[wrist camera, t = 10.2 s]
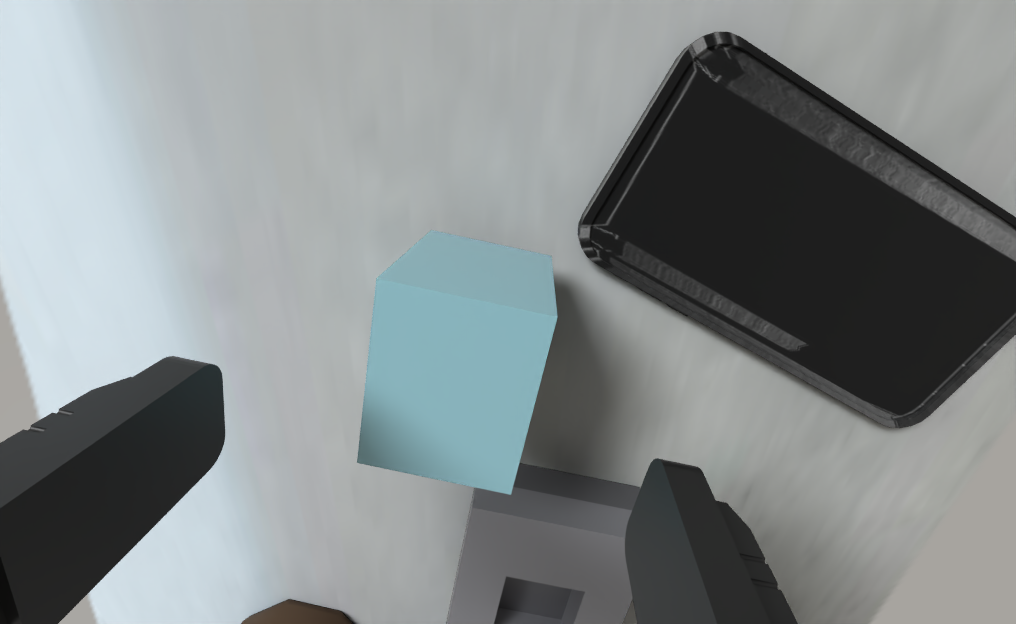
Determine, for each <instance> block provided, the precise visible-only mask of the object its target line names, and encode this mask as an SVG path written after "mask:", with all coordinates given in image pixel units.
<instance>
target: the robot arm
mask: <svg viewBox="0 0 1016 624" xmlns="http://www.w3.org/2000/svg"><path fill="white" fill-rule="evenodd" d="M224 440H225V420H224V400H223V380H222V373H221V370H220V369H219V367H218V366H216V365H213V364H208V363H204V362H199V361H194V360H189V359H184V358H180V357H175V356H170V357H166V358H164V359H162V360H160V361H159V362H157V363H155V364H154V365H152V366H150V367H149V368H147V369H145V370H144V371H142V372H140V373H139V374H137V375H136V376H134V377H129V378H126V379H123V380H120V381H117V382H114V383H111V384H108V385H105V386H102V387H99V388H97V389H94V390H91V391H89V392H88V393H86V394H84V395H82V396H81V397H79V398H77V399H76V400H74V401H72V402H70V403H69V404H67V405H65V406H63V407H62V408H60V409H59V412H58V413H57V414H56V413H51V414H50V415H48V416H46V417H44V418H43V419H41V420H39V421H37V422H36V423H34V424H32V425H31V427H30V429H29V430H28V431H27V430H22V431H20V432H18V433H17V434H15V435H13V436H11V437H10V438H8V439H6V440H5V441H3V442H1V443H0V624H58V623H59V622H60V621H61V620H62V619H63V618H64V617H65V616H66V615H67V614H68V613H69V612H70V611H71V610H72V609H73V608H74V607H75V606H76V605H77V604H78V603H79V602H80V601H81V600H82V599H83V598H84V597H85V596H86V595H87V594H88V593H89V592H90V591H91V590H92V589H93V588H94V587H95V586H96V585H97V584H98V583H99V582H100V581H101V580H102V579H103V578H104V577H105V575H106V574H107V573H108V572H109V571H110V570H111V569H112V568H113V567H114V566H115V565H116V564H117V563H118V562H119V561H120V560H121V559H122V558H123V557H124V556H125V555H126V554H127V553H128V552H129V551H130V550H131V549H132V548H133V547H134V546H135V545H136V544H137V543H138V542H139V541H140V540H141V539H142V538H143V537H144V536H145V535H146V534H147V533H148V532H149V531H150V530H151V529H152V528H153V527H154V526H155V525H156V524H157V523H158V522H159V521H160V520H161V519H162V518H163V517H164V516H165V515H166V514H167V513H168V512H169V511H170V510H171V509H172V508H173V507H174V506H175V504H176V503H177V502H178V501H179V500H180V499H181V498H182V497H183V496H184V495H185V494H186V493H187V492H188V491H189V490H190V489H191V488H192V487H193V486H194V485H195V484H196V483H197V482H198V481H199V480H200V479H201V478H202V477H203V476H204V475H205V474H206V473H207V472H208V471H209V470H210V469H211V468H212V466H213V465H214V464H215V462H216V461H217V459H218V457H219V455H220V453H221V451H222V448H223V445H224ZM625 558H626V564H627V569H628V575H629V580H630V586H631V591H632V597H633V602H634V608H635V613H636V619H637V624H798V623H797V621H796V619H795V617H794V615H793V613H792V611H791V609H790V607H789V605H788V603H787V601H786V599H785V597H784V595H783V593H782V591H781V590H778V588H777V585H778V583H777V581H776V579H775V577H774V575H773V573H772V571H771V569H770V567H769V565H768V564H765V557H764V555H763V553H762V551H761V549H760V548H759V546H758V544H757V542H756V540H755V538H754V536H753V534H752V532H751V530H750V528H749V527H748V526H747V525H746V524H745V523H744V522H743V521H742V520H741V518H740V517H739V516H738V515H737V514H736V513H735V512H734V511H733V510H732V508H731V507H730V506H729V505H728V504H727V503H724V502H719V501H715V498H714V496H713V494H712V492H711V489H710V487H709V485H708V483H707V480H706V478H705V476H704V474H703V472H702V470H701V469H700V468H698V467H695V466H691V465H686V464H681V463H676V462H672V461H667V460H662V459H654V460H653V461H652V462H651V464H650V466H649V468H648V471H647V473H646V476H645V478H644V481H643V484H642V486H641V489H640V491H639V494H638V497H637V499H636V502H635V504H634V507H633V510H632V512H631V515H630V517H629V520H628V524H627V528H626V534H625Z"/></svg>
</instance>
